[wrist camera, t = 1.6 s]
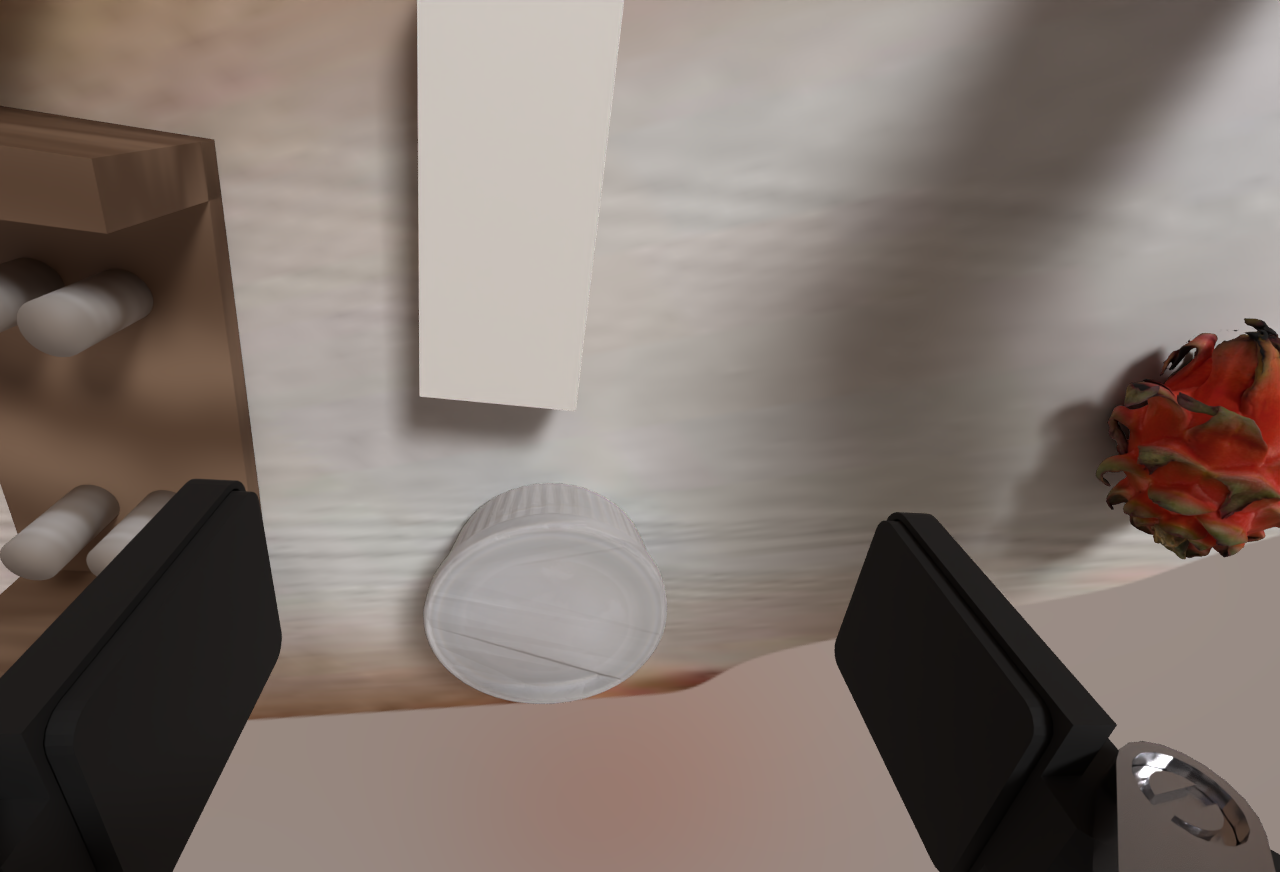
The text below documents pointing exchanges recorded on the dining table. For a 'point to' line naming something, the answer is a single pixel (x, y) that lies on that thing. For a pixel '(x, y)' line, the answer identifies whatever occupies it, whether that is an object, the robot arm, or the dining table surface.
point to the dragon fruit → (1203, 446)
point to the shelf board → (510, 192)
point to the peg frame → (107, 349)
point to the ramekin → (546, 597)
